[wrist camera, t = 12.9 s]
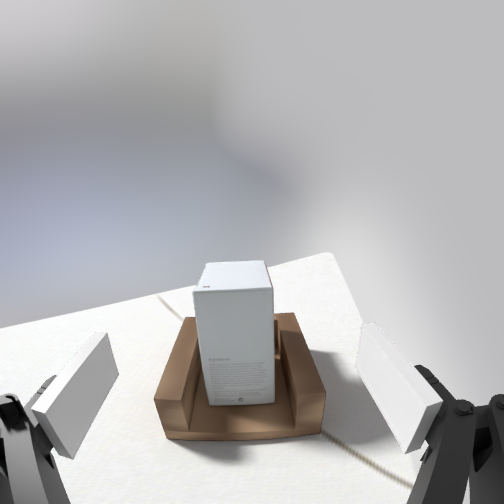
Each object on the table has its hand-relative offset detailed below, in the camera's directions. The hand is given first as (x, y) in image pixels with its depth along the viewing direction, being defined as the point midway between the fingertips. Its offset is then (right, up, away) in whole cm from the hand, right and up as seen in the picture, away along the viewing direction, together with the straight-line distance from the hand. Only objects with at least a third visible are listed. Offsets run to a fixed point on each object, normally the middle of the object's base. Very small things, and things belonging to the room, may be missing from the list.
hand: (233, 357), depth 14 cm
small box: (0, -7, +12) cm, 14 cm away
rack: (0, -8, +12) cm, 14 cm away
